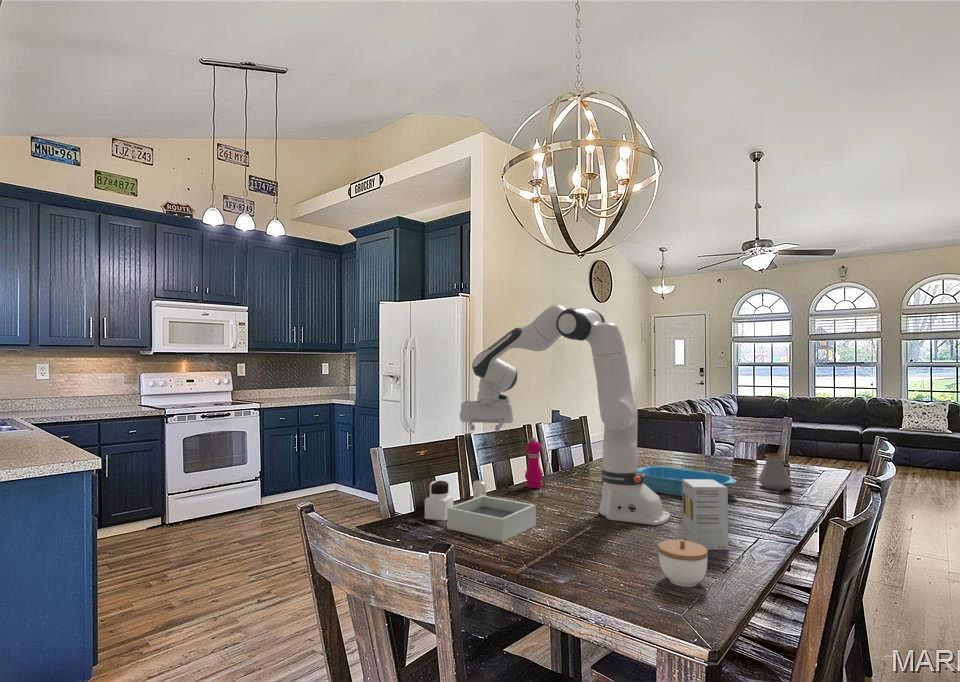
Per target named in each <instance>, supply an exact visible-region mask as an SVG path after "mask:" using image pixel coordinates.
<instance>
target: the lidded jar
mask: <svg viewBox="0 0 960 682" xmlns="http://www.w3.org/2000/svg"><path fill="white" fill-rule="evenodd" d="M657 549H658V559H659V566H660V569H661V571H662V573H663V574H664V576H665V577H666V578H667V579H668V581H669V582H670V583H671V584H672V585H675V586H677V587H681V588H682V587H683V588H695V587H696V586H697V585H698V584H699V583H700V582H701V581H702V580H703V579H704V578H705V576H706V573H707V568H708V557H709V550H707V549H706V548H705V547H704V546H702V545H700V544H697V543H694V542H690V541H686V540H685V539H667V540H663V541H661V542H659V543H658V545H657Z"/></svg>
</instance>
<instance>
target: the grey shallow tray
mask: <svg viewBox="0 0 960 682" xmlns="http://www.w3.org/2000/svg"><path fill="white" fill-rule="evenodd" d="M471 512H475V513H480V514H484V515H489V516H494V517H499V518H503V517H506V516H508V515H510V514H512V513H514V512H509V511H504V510H499V509H494V508H489V507H481V508H479V509H476V510H473V511H471Z"/></svg>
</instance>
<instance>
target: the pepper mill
mask: <svg viewBox="0 0 960 682" xmlns="http://www.w3.org/2000/svg"><path fill="white" fill-rule="evenodd" d="M526 451H527V457H528V466H527V468H526V470H525V474H524V478H525V480H526V483H525V484H526V485H525V486H526V487H525V488H527V487H529V488H528V489H530V488H539V489H542V488H543V483H542V480H543V478H544V475H543V471H542V468H541V466H540V460H539V459H540V457H541V453H540V452H541V451H542V445H541V443H540V442H539V441H537V438H536V437H535V436H533V437H531V440H530V441H529V442H527V443H526ZM541 487H542V488H541Z"/></svg>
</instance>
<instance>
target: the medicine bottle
mask: <svg viewBox="0 0 960 682" xmlns="http://www.w3.org/2000/svg"><path fill="white" fill-rule="evenodd" d="M452 506H454V495H452V494H451V495H450V494H449V482H447V481H444V480H433V481H432V482H430V484H429V496H428V497H426V498H425V499H424V519H426V520H435V521H443V522H445V521H447V508H449V507H452Z"/></svg>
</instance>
